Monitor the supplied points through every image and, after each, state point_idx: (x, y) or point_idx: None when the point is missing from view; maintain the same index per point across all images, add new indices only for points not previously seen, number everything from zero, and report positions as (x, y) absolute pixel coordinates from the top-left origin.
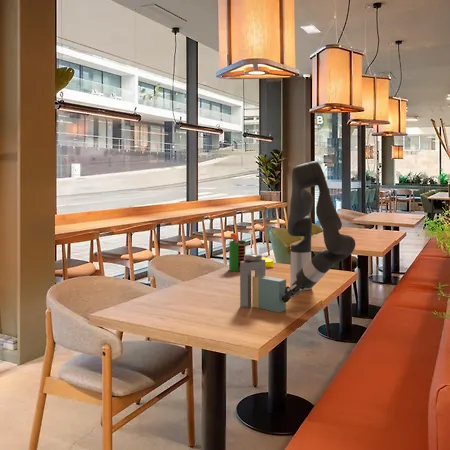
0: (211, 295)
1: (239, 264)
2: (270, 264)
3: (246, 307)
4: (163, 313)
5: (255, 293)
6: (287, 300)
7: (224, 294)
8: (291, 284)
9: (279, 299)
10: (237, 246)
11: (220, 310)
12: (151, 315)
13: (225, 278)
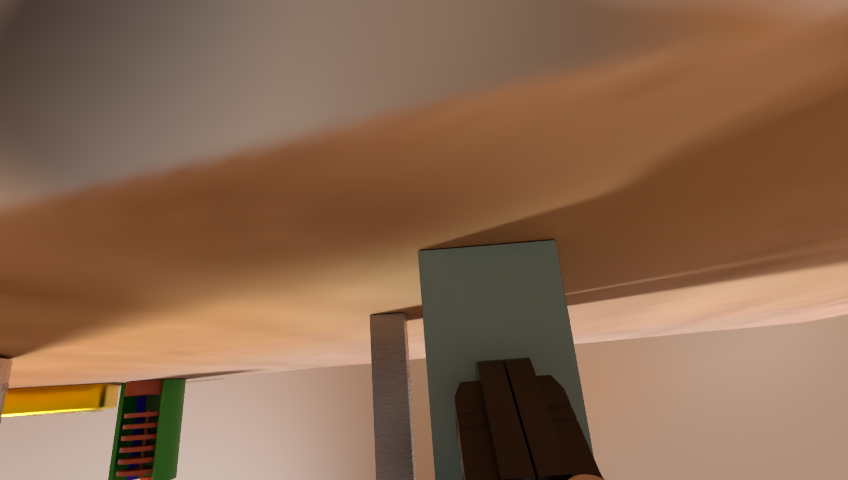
0: None
1: (139, 396)
2: (6, 401)
3: None
4: (764, 313)
5: None
6: (545, 402)
7: None
8: (3, 389)
9: (574, 403)
10: (157, 469)
11: (658, 304)
12: (799, 311)
13: (250, 369)
